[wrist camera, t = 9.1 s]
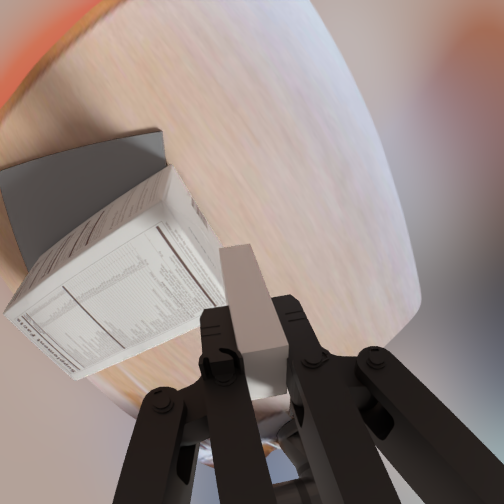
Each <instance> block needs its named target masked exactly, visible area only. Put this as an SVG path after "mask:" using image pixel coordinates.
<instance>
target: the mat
mask: <svg viewBox="0 0 504 504" xmlns="http://www.w3.org/2000/svg"><path fill="white" fill-rule="evenodd" d="M166 167H167V166H166V158H165V150H164V142H163V133H162V131H159V132H152V133H146V134H141V135H135V136H129V137H124V138H119V139H114V140H109V141H104V142H100V143H95V144H91V145H87V146H83V147H78V148H74V149H70V150H67V151H63V152H59V153H55V154H52V155H48V156H45V157H41V158H38V159H35V160H31V161H28V162H25V163H22V164H19V165H16V166H13V167H10V168H7V169H4V170H1V171H0V189H1V192H2V196H3V200H4V203H5V207H6V210H7V214H8V217H9V220H10V223H11V226H12V229H13V232H14V235H15V238H16V241H17V244H18V246H19V249H20V252H21V254H22V257H23V260H24V262H25V265H26V267H27V270H28V272H30V270H31V269H32V267H33V266H34V264H35V263H36V262H37V260H38V259H39V257H40V256H41V255H42V254H44V253H45V252H46V251H47V250H48V249H50V248H51V247H52V246H53V245H55V244H56V243H57V242H58V241H60V240H61V239H62V238H64V237H65V236H66V235H67V234H69V233H70V232H71V231H73V230H74V229H75V228H77V227H78V226H79V225H81V224H82V223H83V222H85V221H86V220H87V219H89V218H90V217H92V216H93V215H94V214H96V213H97V212H99V211H100V210H101V209H103V208H104V207H106V206H107V205H109V204H110V203H111V202H113V201H114V200H116V199H117V198H119V197H120V196H122V195H123V194H125V193H126V192H128V191H129V190H131V189H132V188H134V187H135V186H137V185H138V184H140V183H142V182H143V181H145V180H146V179H148V178H149V177H151V176H153V175H154V174H156V173H158V172H159V171H161V170H162V169H164V168H166Z"/></svg>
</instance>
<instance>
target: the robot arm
mask: <svg viewBox="0 0 504 504" xmlns="http://www.w3.org/2000/svg"><path fill="white" fill-rule="evenodd" d="M219 255H220V263H221V270H222V278H223V285H224V292H225V298H226V304H227V306H221V307H214V308H207V309H204V310H203V312H202V314H201V316H200V329H201V342H202V353H203V354H202V355H201V356H200V358H199V364H198V365H199V368H200V371H201V377H200V378H199V380H197V381H196V382H195V383H194V384H192V385H190V386H188V387H186V388H183V389H181V390H178V391H177V390H176V389H174V388H171V387H158V388H156V389H153V390H151V391H150V392H149V393H148V394H147V395H146V396H145V398H144V400H143V402H142V405H141V408H140V411H139V414H138V417H137V420H136V424H135V427H134V430H133V434H132V437H131V440H130V443H129V446H128V450H127V453H126V456H125V460H124V463H123V467H122V471H121V474H120V477H119V481H118V485H117V488H116V492H115V496H114V499H113V503H112V504H190V501H191V495H192V488H193V482H194V476H195V470H196V464H197V458H198V452H199V446H200V442H201V441H204V440H206V439H208V438H210V441H211V449H212V456H213V462H214V469H215V475H216V481H217V488H218V493H219V499H220V504H401V502H400V499H399V497H398V495H397V492H396V490H395V488H394V486H393V484H392V481H391V479H390V477H389V475H388V472H387V470H386V468H385V466H384V464H383V462H382V460H381V457H380V455H379V453H378V451H377V448H378V449H379V450H380V451H381V453H382V454H383V455H384V456H385V457H386V458H387V460H388V461H389V462H390V463H391V464H392V465H393V467H394V468H395V469H396V470H397V471H398V473H399V474H400V475H401V476H402V477H403V479H404V480H405V481H406V482H407V483H408V484H409V486H410V487H411V488H412V489H413V490H414V491H415V492H416V494H418V496H419V497H420V498H421V499H422V501H423V502H424V503H425V504H504V464H503V463H502V462H501V461H500V460H499V459H498V458H497V457H496V456H495V455H494V454H493V453H492V452H491V451H490V450H489V449H488V448H487V447H486V446H485V445H484V444H483V443H482V442H481V441H480V440H479V439H478V438H477V437H476V436H475V435H474V434H473V433H472V432H471V431H470V430H469V429H468V428H467V427H466V426H465V425H464V424H463V423H462V422H461V421H460V420H459V419H458V418H457V417H456V416H455V415H454V414H453V413H452V412H451V411H450V410H449V409H448V408H447V407H446V406H445V405H444V404H443V403H442V402H441V401H440V400H439V399H438V398H437V397H436V396H435V395H434V394H433V393H432V392H431V391H430V390H429V389H428V388H427V387H426V386H425V385H424V384H423V383H422V382H420V380H419V379H418V378H417V377H415V376H414V375H413V374H412V373H411V372H410V371H409V370H408V369H407V368H406V367H405V366H404V365H403V364H402V363H401V362H400V361H399V360H398V359H397V358H396V357H395V356H394V355H393V354H391V353H390V352H389V351H388V350H386V349H384V348H382V347H378V346H370V347H367V348H364V349H363V350H362V351H361V352H359V354H358V357H352V356H336V355H333V354H330V352H329V351H328V350H326V349H324V348H323V347H321V345H320V343H319V341H318V339H317V337H316V335H315V333H314V331H313V329H312V327H311V325H310V323H309V321H308V319H307V317H306V314H305V312H304V311H303V308H302V306H301V304H300V302H299V301H298V300H297V299H296V298H294V297H293V296H292V295H284V296H278V297H273V298H271V297H270V294H269V292H268V289H267V287H266V284H265V281H264V279H263V276H262V273H261V271H260V268H259V266H258V263H257V260H256V258H255V255H254V252H253V250H252V247H251V245H250V244H245V245H238V246H231V247H224V248H219ZM287 388H288V391H289V394H290V409H289V413H290V416H294V419H293V420H291V421H290V422H288V423H287V424H285V425H284V426H283V427H282V428H281V429H280V430H279V432H278V434H277V438H278V441H279V445H280V447H281V449H282V450H283V451H284V453H285V454H286V455H287V457H288V458H289V459H290V461H291V462H292V463H293V465H294V466H295V467H296V470H297V473H298V476H299V478H298V479H294V480H290V481H286V482H281V483H276V484H272V482H271V478H270V474H269V470H268V466H267V463H266V458H265V454H264V451H263V447H262V443H261V438H260V434H259V430H258V426H257V422H256V418H255V414H254V410H253V405H252V401H251V400H257V399H262V398H267V397H272V396H277V395H282V394H287ZM375 445H376V447H377V448H376V447H375Z"/></svg>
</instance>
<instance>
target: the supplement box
mask: <svg viewBox="0 0 504 504" xmlns="http://www.w3.org/2000/svg"><path fill="white" fill-rule="evenodd" d="M219 248H223V245H222V244H221V242H220V241H219V239H218V237H217V236H216V234H215V233H214V231H213V229H212V228H211V226H210V224H209V223H208V221H207V220H206V218H205V216H204V215H203V213H202V212H201V210H200V208H199V207H198V205H197V204H196V202H195V200H194V199H193V197H192V195H191V194H190V192H189V191H188V189H187V187H186V186H185V184H184V182H183V181H182V179H181V177H180V176H179V174H178V173H177V171H176V169H175V168H174V166H173V164H170V165H169V166H167V167H166V168H164V169H162V170H161V171H159V172H158V173H156V174H154V175H153V176H151V177H149V178H148V179H146V180H145V181H143V182H142V183H140V184H138V185H137V186H135V187H134V188H132V189H131V190H129V191H128V192H126V193H125V194H123V195H122V196H120V197H119V198H117V199H116V200H114V201H113V202H111V203H110V204H109V205H107V206H106V207H104V208H103V209H101V210H100V211H99V212H97V213H96V214H94V215H93V216H92V217H90V218H89V219H87V220H86V221H85V222H83V223H82V224H81V225H79V226H78V227H77V228H75V229H74V230H73V231H71V232H70V233H69V234H67V235H66V236H65V237H64V238H62V239H61V240H60V241H58V242H57V243H56V244H55V245H53V246H52V247H51V248H50V249H48V250H47V251H46V252H45V253H44V254H42V255H41V256H40V257H39V259H38V260H37V262H36V263H35V264H34V266H33V267H32V269H31V270H30V272H29V273H28V275H27V276H26V277H25V279H24V280H23V282H22V283H21V285H20V287H19V288H18V290H17V291H16V293H15V294H14V296H13V298H12V299H11V301H10V302H9V304H8V306H7V307H6V309H5V311H4V313H3V314H4V316H5V317H6V318H7V319H8V320H9V321H11V323H13V324H14V325H15V326H16V327H17V328H18V329H19V330H20V331H21V332H22V333H23V334H24V335H25V336H26V337H27V338H28V339H29V340H30V341H31V342H33V344H35V345H36V346H37V347H38V348H39V349H40V350H41V351H42V352H43V353H44V354H45V355H46V356H47V357H49V358H50V359H51V360H52V361H53V362H54V363H55V364H56V365H58V366H59V367H60V368H61V369H62V370H63V371H64V372H66V373H67V374H68V375H69V376H70V377H71V378H73V379H74V380H75V381H76V380H79V379H81V378H84V377H87V376H89V375H91V374H94V373H96V372H98V371H101V370H103V369H105V368H108V367H110V366H112V365H115V364H117V363H119V362H122V361H124V360H126V359H129V358H131V357H133V356H136V355H138V354H140V353H142V352H144V351H146V350H148V349H151V348H153V347H155V346H158V345H160V344H162V343H164V342H166V341H169V340H171V339H173V338H175V337H177V336H179V335H182V334H184V333H186V332H188V331H190V330H192V329H194V328H197V327H199V326H200V316H201V314H202V312H203V310H204V309H207V308H214V307H221V306H227V304H226V298H225V292H224V285H223V278H222V270H221V263H220V255H219Z"/></svg>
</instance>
